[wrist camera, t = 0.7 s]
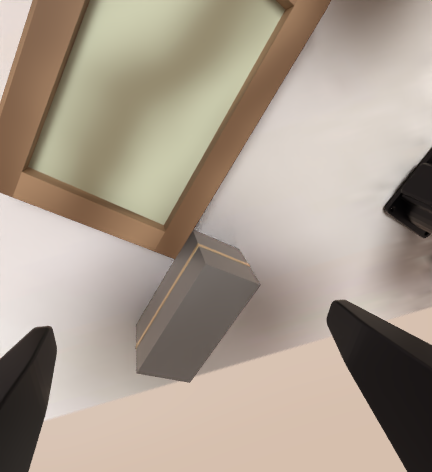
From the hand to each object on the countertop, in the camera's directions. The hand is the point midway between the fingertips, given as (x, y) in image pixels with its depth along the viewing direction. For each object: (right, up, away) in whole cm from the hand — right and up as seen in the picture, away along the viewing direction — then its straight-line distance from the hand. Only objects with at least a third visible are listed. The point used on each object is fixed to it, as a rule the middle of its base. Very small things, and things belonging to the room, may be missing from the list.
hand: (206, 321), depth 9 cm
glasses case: (-2, -2, +15) cm, 16 cm away
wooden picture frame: (-3, +11, +8) cm, 14 cm away
